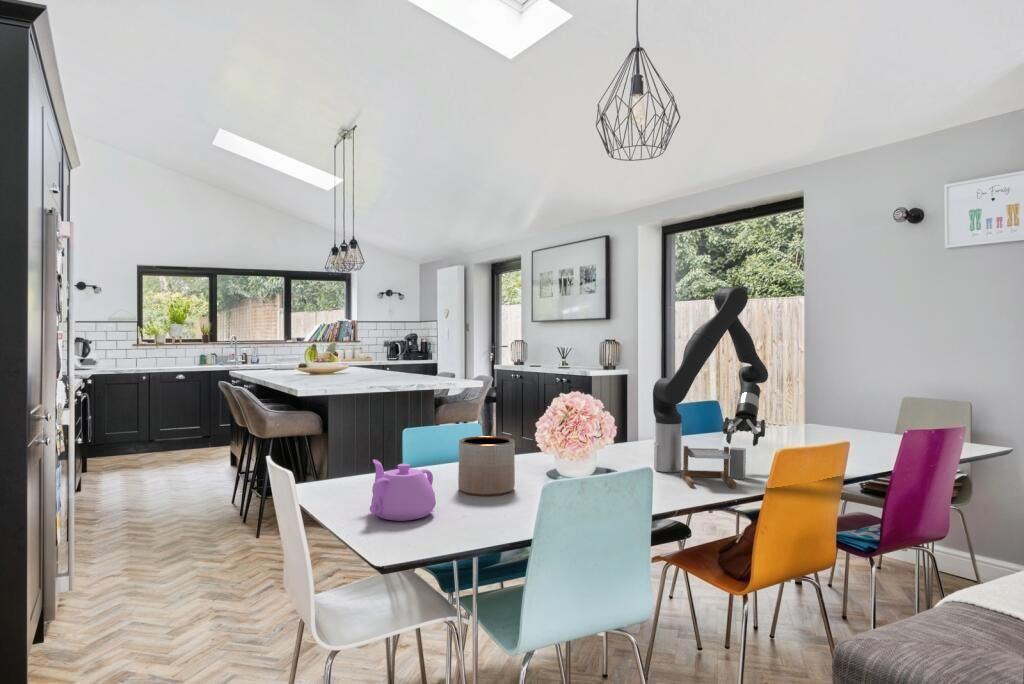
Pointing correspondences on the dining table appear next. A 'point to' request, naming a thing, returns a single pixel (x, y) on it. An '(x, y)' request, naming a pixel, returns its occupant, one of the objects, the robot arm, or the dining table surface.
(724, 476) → the brown wooden frame
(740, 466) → the basalt block
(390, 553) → the dining table surface
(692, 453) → the trapdoor plate
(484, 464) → the planter
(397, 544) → the dining table surface
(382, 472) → the teapot
